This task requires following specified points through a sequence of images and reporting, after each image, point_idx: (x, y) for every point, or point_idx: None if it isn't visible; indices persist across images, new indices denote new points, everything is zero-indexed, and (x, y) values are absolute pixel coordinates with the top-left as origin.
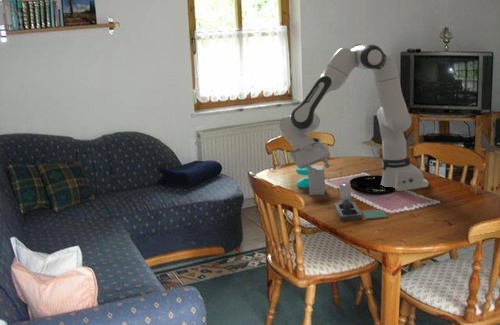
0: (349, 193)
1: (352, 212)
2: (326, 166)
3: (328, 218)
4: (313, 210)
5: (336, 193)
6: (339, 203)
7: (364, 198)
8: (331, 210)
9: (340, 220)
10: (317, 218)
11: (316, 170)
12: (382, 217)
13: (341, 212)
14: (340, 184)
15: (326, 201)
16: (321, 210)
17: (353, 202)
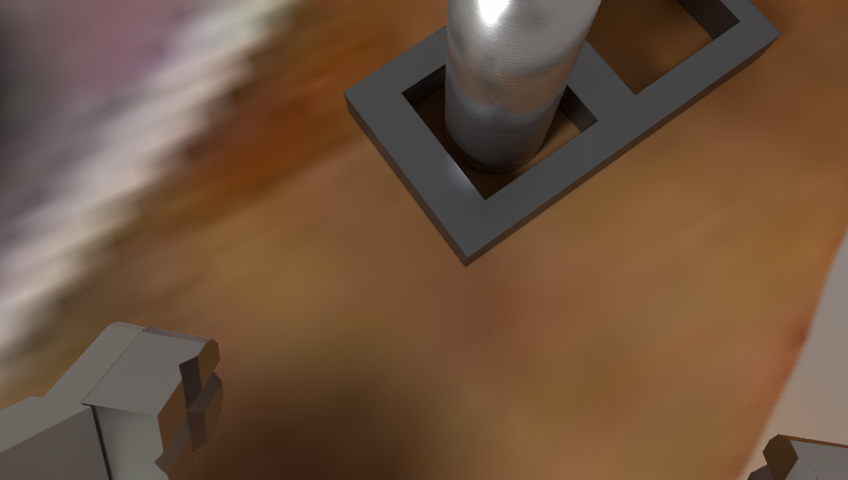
0: None
1: None
2: (192, 410)
3: (754, 185)
4: (631, 442)
5: None
6: (450, 206)
7: (121, 118)
8: (550, 260)
9: (759, 56)
10: (809, 282)
11: (808, 451)
12: None
13: (679, 71)
14: (553, 10)
15: (318, 447)
16: (594, 357)
17: (371, 90)
